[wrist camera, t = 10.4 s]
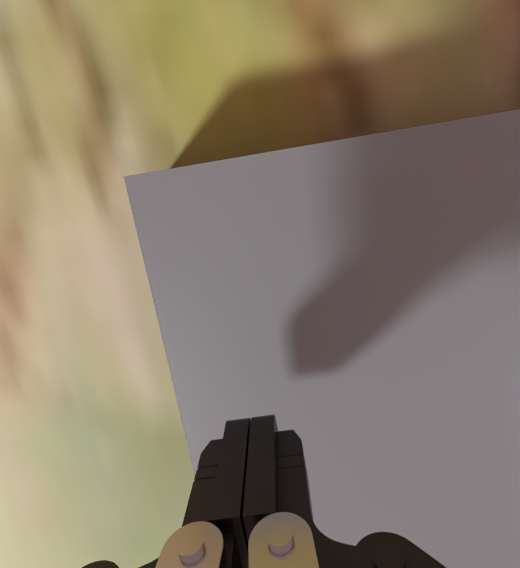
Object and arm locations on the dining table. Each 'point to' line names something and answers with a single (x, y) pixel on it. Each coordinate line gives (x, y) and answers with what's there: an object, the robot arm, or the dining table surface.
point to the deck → (357, 322)
